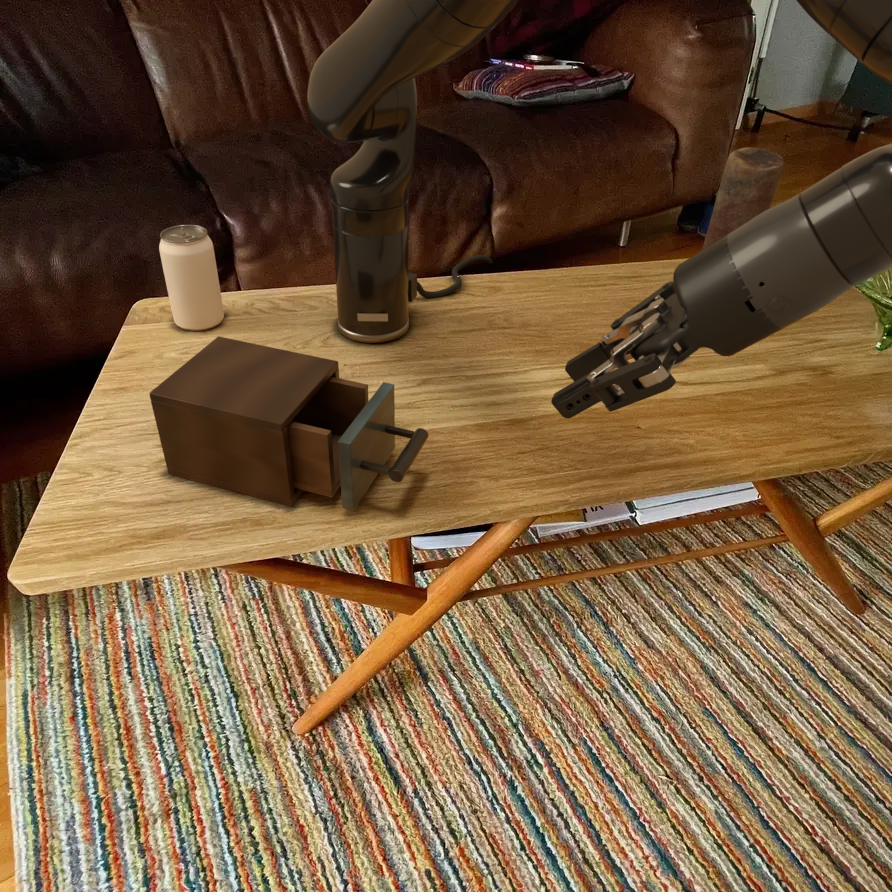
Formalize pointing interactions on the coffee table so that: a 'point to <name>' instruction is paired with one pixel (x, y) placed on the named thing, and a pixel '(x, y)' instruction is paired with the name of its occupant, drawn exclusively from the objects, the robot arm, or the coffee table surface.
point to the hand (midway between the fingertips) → (565, 390)
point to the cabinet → (237, 416)
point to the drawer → (348, 440)
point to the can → (191, 277)
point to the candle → (744, 190)
